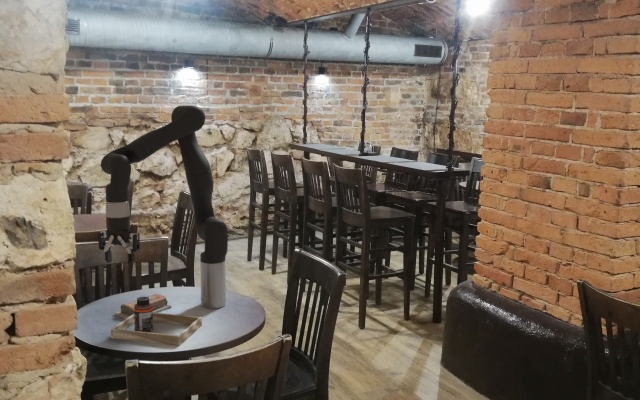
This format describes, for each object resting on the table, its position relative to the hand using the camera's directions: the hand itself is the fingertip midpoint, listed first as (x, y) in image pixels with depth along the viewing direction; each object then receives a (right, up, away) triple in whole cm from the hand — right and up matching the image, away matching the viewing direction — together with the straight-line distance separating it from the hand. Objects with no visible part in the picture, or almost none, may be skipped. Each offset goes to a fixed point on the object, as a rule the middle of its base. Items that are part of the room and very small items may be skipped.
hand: (119, 263), depth 214 cm
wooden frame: (+12, -23, +1) cm, 26 cm away
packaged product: (+2, -20, +21) cm, 29 cm away
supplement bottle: (+7, -23, +2) cm, 24 cm away
